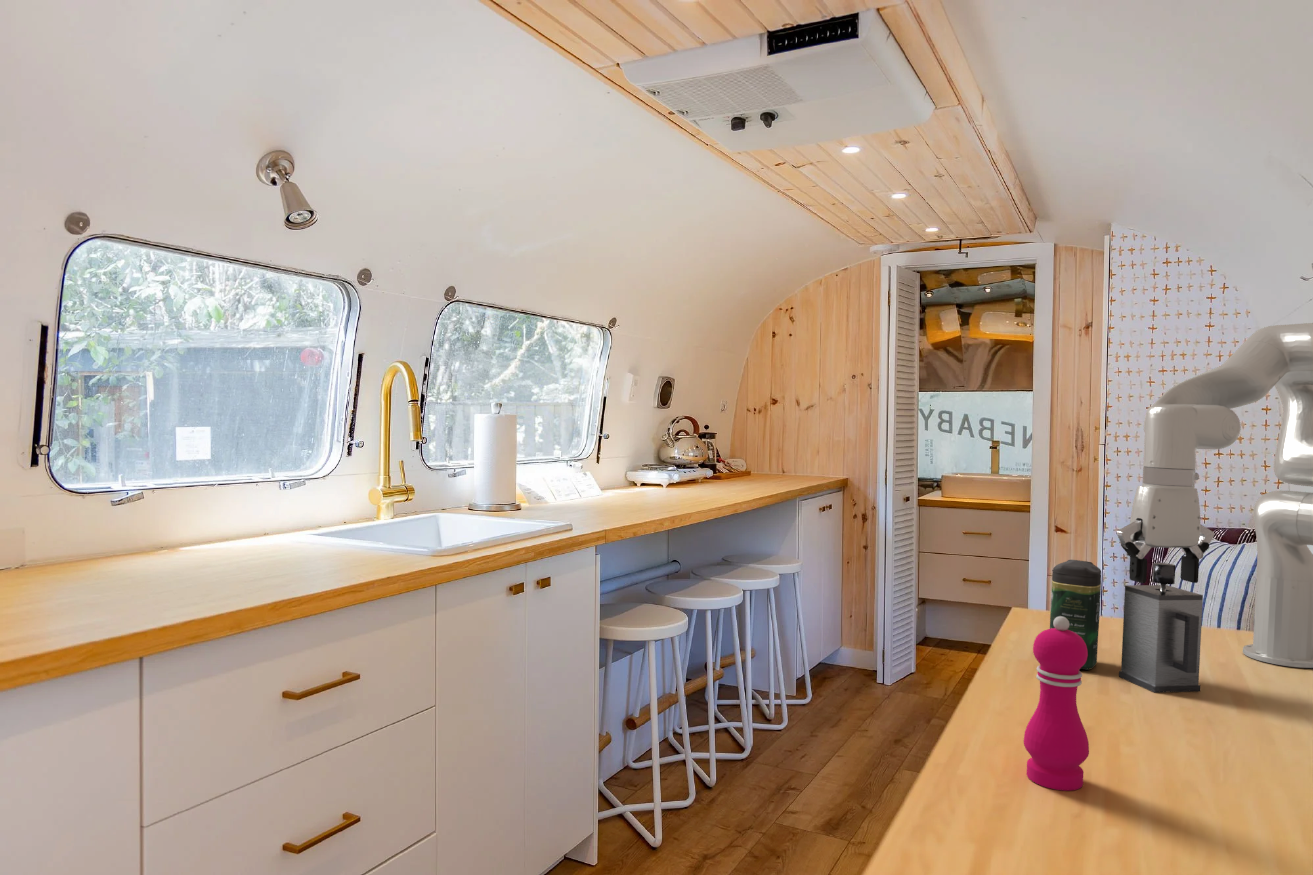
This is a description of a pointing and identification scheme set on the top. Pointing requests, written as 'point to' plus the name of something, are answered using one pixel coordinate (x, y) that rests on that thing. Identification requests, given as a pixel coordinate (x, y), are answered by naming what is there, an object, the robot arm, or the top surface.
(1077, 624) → the coffee jar
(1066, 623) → the pepper mill
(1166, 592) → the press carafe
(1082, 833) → the top surface
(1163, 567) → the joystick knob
